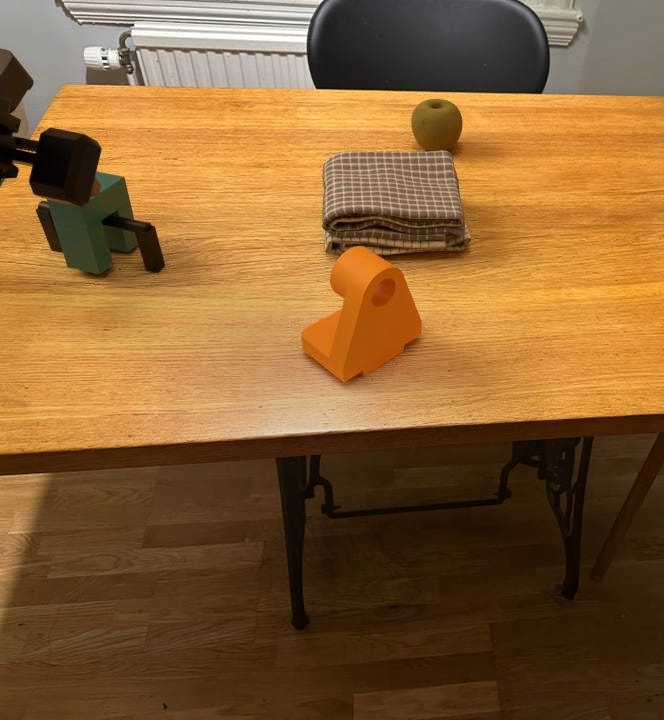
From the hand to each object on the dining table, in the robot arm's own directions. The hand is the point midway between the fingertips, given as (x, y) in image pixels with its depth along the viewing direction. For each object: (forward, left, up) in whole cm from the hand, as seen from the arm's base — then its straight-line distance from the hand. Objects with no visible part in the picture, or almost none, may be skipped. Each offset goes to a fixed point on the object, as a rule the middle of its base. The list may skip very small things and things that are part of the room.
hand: (57, 181), depth 71 cm
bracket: (+27, -18, -12) cm, 35 cm away
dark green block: (+1, +3, -11) cm, 11 cm away
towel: (+36, +4, -12) cm, 38 cm away
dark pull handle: (+2, +3, -12) cm, 12 cm away
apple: (+47, +25, -12) cm, 54 cm away
